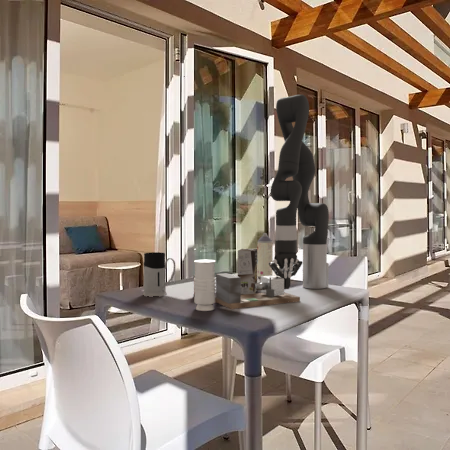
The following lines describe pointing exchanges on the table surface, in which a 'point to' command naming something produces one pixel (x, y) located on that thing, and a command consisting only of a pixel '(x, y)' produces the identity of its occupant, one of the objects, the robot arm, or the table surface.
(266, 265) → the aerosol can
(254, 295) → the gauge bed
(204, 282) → the candle
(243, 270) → the coffee box
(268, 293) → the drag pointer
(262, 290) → the white block
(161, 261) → the grey handled cylinder
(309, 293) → the table surface
